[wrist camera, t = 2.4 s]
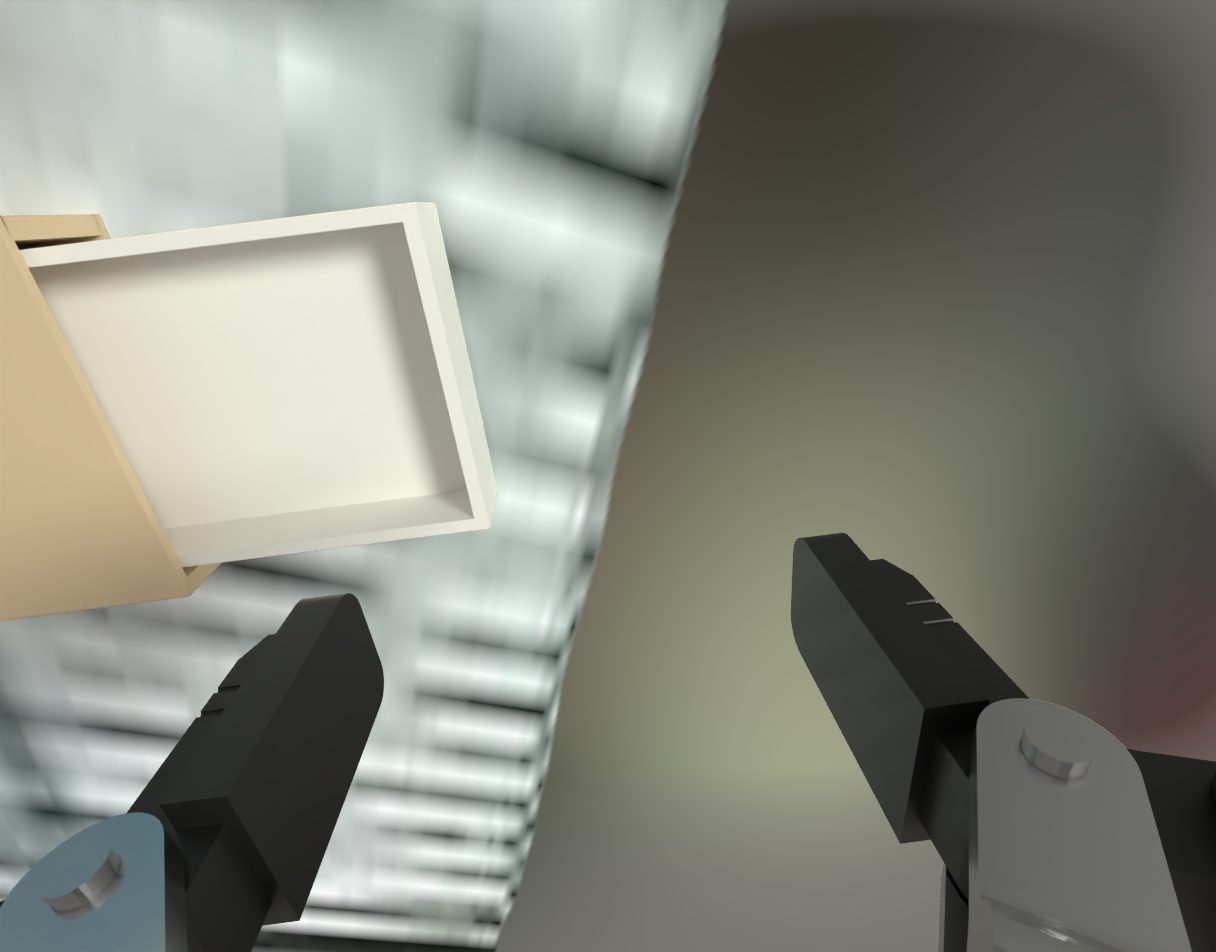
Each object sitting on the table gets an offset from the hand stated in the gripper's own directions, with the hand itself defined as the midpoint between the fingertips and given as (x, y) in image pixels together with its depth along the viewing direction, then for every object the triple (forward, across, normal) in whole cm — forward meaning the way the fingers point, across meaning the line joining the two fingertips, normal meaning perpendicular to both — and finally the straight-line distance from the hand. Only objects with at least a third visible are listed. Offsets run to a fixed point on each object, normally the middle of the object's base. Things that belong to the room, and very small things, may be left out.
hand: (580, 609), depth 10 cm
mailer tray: (+19, +21, 0) cm, 28 cm away
